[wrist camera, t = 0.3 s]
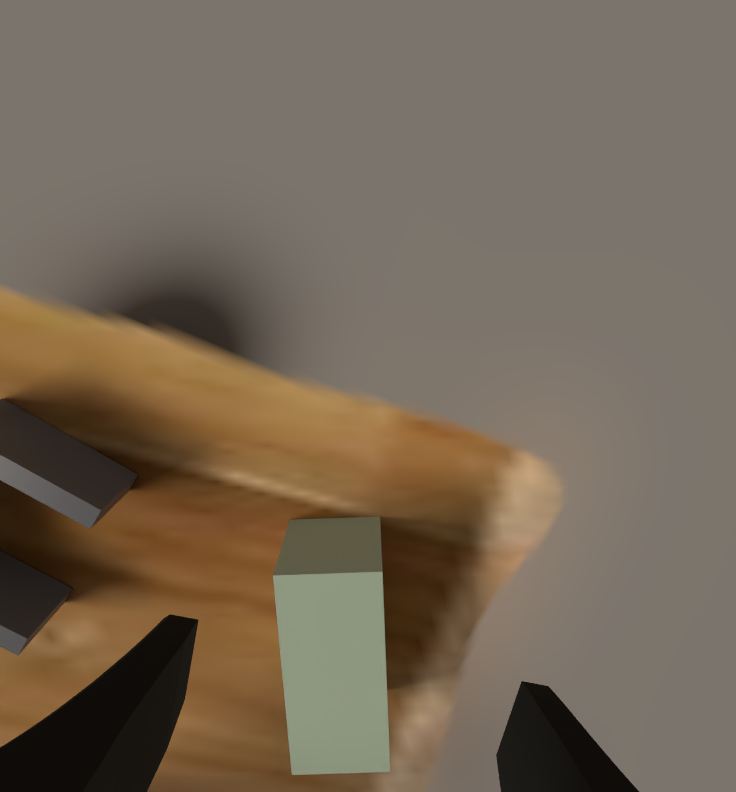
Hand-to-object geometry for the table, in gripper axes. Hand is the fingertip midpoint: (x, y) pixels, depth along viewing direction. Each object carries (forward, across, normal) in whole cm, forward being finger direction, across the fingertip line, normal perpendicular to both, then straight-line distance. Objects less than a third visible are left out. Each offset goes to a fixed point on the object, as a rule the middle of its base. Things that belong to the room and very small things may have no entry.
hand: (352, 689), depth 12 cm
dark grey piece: (+10, +12, +3) cm, 16 cm away
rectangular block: (+10, 0, +5) cm, 11 cm away
